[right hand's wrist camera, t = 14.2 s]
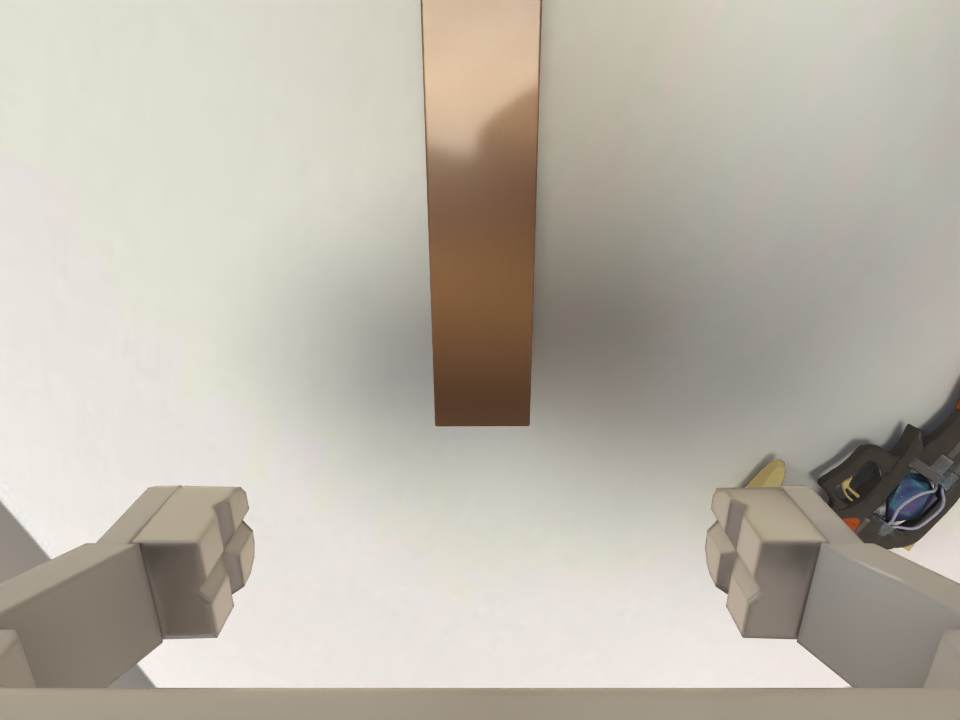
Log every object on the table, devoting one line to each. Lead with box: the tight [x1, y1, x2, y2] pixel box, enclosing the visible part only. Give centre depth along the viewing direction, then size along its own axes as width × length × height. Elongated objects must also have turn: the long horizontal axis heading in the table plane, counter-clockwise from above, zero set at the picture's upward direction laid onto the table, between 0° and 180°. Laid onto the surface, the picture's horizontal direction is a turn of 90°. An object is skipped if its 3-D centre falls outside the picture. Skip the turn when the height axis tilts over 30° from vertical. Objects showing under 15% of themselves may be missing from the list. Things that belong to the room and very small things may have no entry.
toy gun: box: [746, 398, 960, 551], centre depth 34 cm, size 3×19×10 cm
